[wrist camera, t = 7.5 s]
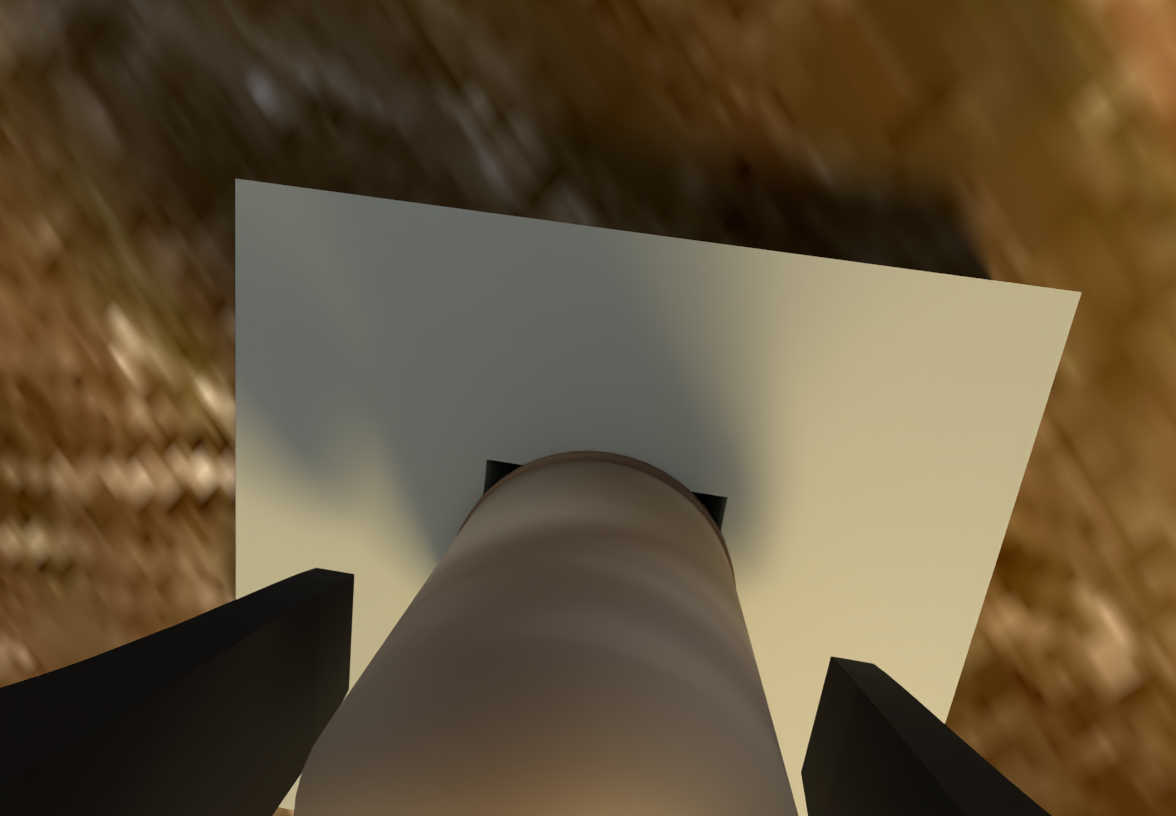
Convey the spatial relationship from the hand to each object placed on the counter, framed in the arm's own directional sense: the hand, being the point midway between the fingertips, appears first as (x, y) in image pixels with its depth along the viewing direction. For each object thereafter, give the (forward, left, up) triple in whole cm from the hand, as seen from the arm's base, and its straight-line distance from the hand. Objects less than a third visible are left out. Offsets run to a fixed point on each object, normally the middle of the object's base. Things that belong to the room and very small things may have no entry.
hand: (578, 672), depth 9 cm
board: (0, 0, -5) cm, 5 cm away
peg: (0, 0, -5) cm, 5 cm away
